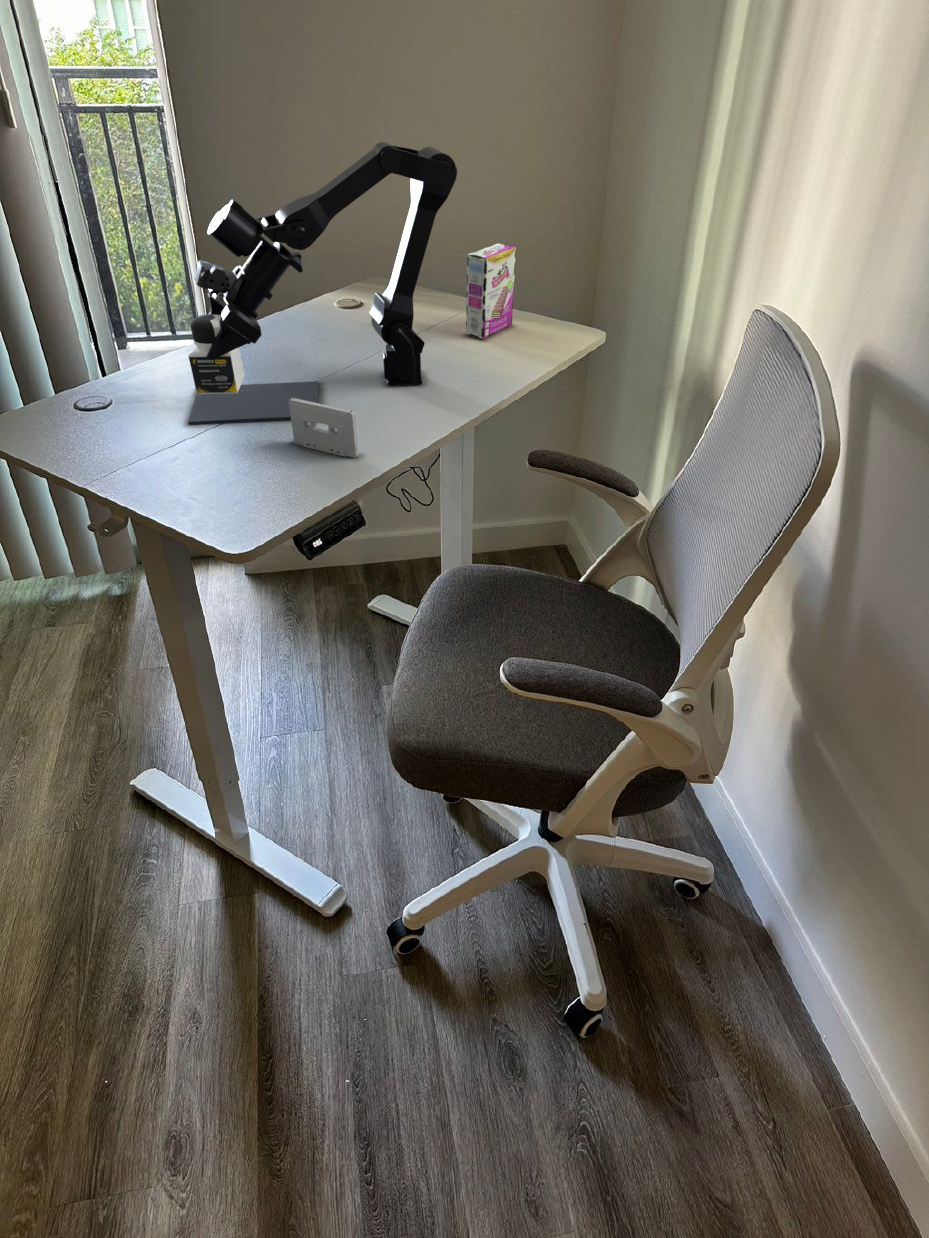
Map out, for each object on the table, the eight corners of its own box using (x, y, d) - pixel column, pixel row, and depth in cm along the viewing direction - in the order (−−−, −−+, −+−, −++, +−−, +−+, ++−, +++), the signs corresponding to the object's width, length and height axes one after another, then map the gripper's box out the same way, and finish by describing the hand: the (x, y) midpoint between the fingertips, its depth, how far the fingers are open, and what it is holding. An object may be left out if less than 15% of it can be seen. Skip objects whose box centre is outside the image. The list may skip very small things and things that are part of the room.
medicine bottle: (196, 395, 148) (181, 326, 140) (205, 378, 153) (191, 311, 146) (237, 394, 148) (224, 325, 140) (245, 377, 153) (233, 310, 146)
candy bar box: (484, 340, 178) (486, 258, 168) (465, 335, 181) (465, 254, 170) (514, 325, 185) (517, 245, 175) (494, 321, 188) (496, 241, 178)
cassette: (360, 454, 138) (357, 410, 133) (354, 459, 137) (350, 414, 132) (298, 439, 142) (293, 396, 137) (292, 444, 141) (286, 400, 136)
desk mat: (319, 384, 160) (318, 381, 160) (318, 418, 149) (317, 415, 148) (199, 389, 158) (198, 386, 158) (188, 425, 146) (187, 421, 146)
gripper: (210, 228, 144) (157, 303, 148) (227, 258, 130) (169, 340, 134) (264, 271, 151) (212, 341, 155) (286, 304, 137) (229, 380, 141)
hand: (205, 349), depth 146 cm, fingers closed on medicine bottle, 8 cm apart
